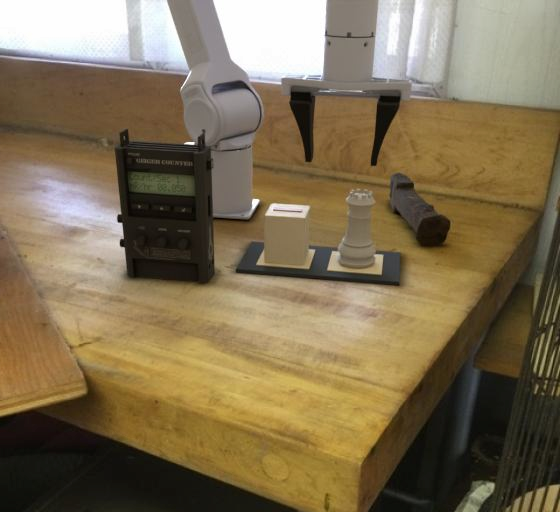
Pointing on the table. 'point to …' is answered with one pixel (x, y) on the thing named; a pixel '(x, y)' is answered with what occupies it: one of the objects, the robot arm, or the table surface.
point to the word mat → (324, 266)
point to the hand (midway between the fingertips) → (341, 162)
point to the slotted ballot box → (286, 234)
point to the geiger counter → (166, 209)
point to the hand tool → (417, 212)
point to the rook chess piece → (358, 232)
